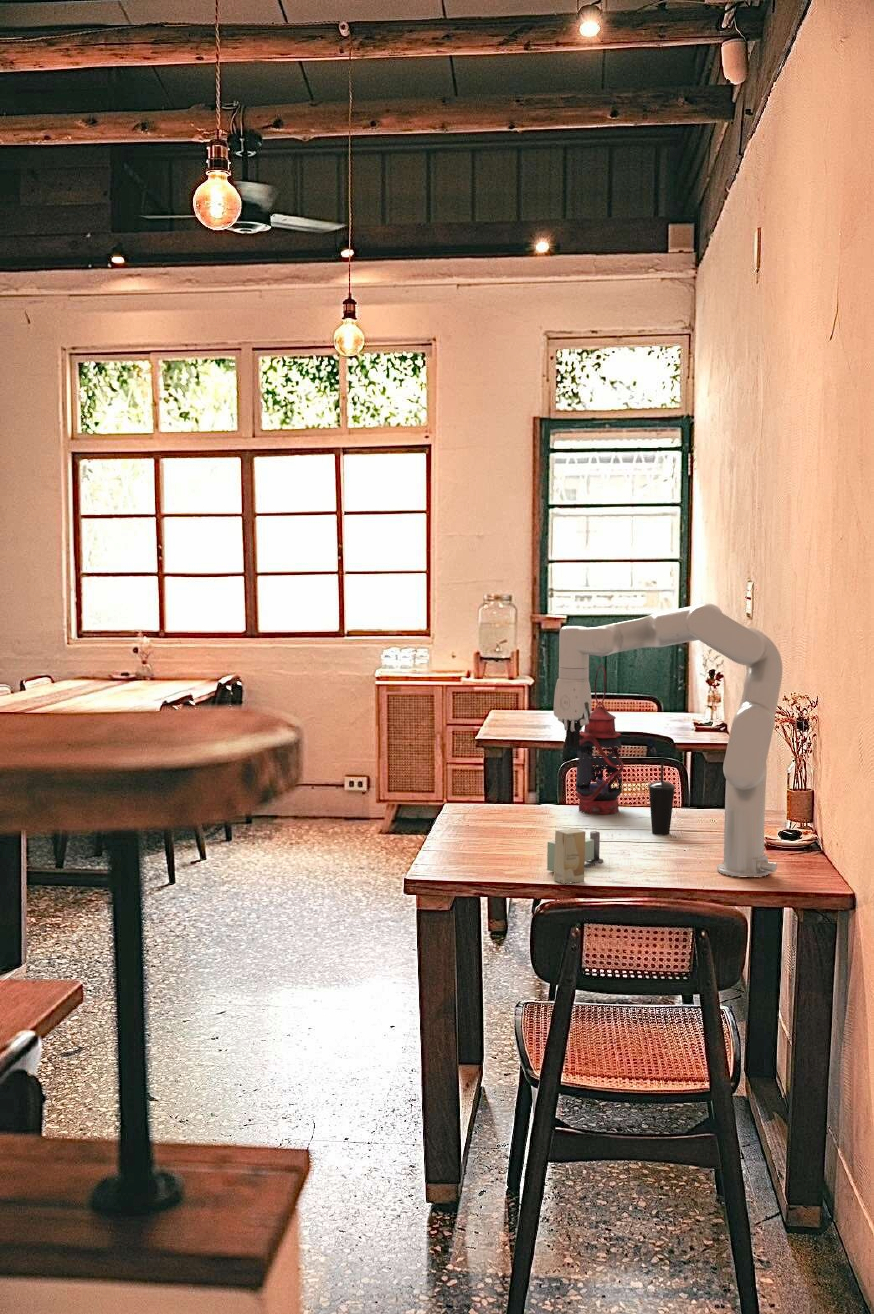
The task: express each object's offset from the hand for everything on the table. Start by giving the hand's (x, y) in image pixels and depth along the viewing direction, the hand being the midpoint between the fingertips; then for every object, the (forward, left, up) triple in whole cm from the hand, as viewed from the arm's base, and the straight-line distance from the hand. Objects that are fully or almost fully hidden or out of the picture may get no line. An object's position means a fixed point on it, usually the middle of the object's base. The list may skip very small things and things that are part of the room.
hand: (572, 746), depth 310 cm
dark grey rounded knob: (-6, -2, -29) cm, 30 cm away
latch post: (-9, +8, -29) cm, 32 cm away
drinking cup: (+2, -42, -29) cm, 51 cm away
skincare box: (-14, +18, -29) cm, 37 cm away
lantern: (+34, -55, -29) cm, 71 cm away
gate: (-6, +7, -29) cm, 30 cm away
